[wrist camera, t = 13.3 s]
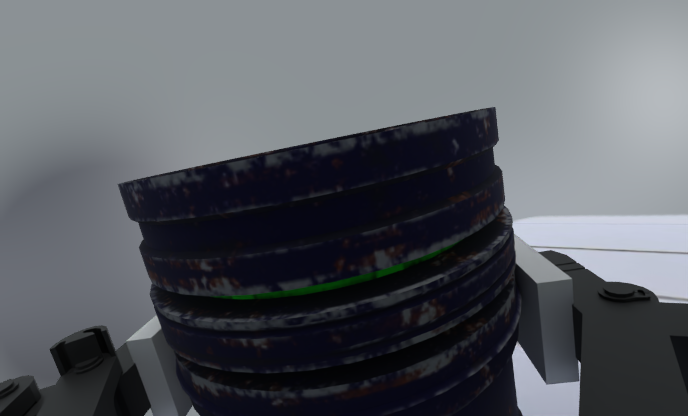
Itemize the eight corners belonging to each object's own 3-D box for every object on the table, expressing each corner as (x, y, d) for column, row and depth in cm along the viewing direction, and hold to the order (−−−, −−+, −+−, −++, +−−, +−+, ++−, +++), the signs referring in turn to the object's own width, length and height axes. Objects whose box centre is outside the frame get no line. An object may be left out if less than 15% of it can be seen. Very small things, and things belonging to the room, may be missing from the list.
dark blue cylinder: (204, 628, 12) (37, 199, 9) (351, 409, 20) (291, 146, 17) (546, 971, 6) (418, 128, 3) (557, 474, 14) (524, 100, 11)
